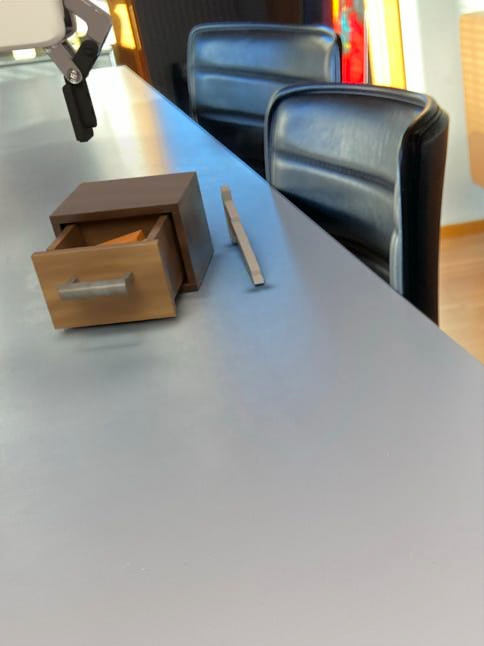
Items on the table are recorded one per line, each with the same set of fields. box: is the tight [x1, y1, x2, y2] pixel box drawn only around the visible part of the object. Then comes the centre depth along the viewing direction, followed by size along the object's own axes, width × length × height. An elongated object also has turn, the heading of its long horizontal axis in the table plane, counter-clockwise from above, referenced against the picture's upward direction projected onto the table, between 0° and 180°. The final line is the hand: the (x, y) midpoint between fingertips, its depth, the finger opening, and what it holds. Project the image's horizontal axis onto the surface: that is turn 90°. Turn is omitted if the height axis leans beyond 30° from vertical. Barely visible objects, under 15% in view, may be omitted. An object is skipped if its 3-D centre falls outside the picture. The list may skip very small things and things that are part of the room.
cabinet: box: [48, 170, 215, 294], centre depth 108 cm, size 15×13×9 cm
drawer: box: [30, 212, 186, 330], centre depth 98 cm, size 18×11×7 cm, turn 6°
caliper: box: [219, 184, 265, 285], centre depth 111 cm, size 20×1×6 cm, turn 19°
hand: (36, 142), depth 80 cm, fingers open, 7 cm apart
